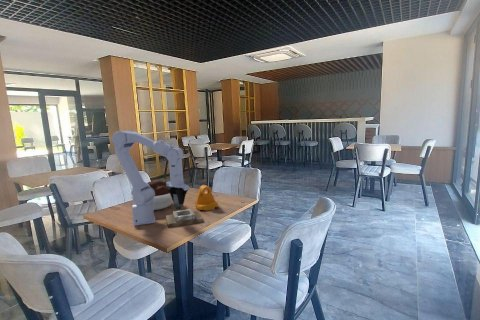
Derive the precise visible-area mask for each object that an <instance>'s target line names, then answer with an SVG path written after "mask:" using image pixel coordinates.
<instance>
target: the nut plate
mask: <svg viewBox="0 0 480 320" xmlns="http://www.w3.org/2000/svg"><path fill="white" fill-rule="evenodd" d="M165 221H166V225H167V228H174V227H179V226H186V225H191V224H199V223H203V222H204V217H202V214H201V213H200V210H195V211H194V210H193V208H188V209H179V210H175V211H174V210H173V211H172V214H167V215H165Z"/></svg>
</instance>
